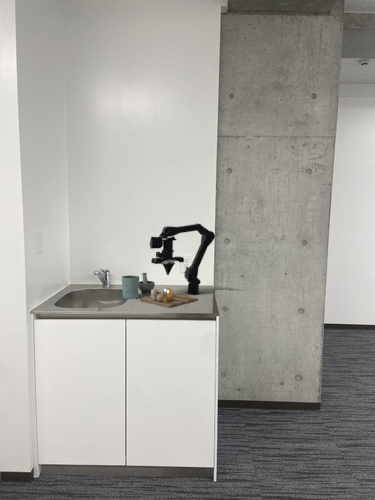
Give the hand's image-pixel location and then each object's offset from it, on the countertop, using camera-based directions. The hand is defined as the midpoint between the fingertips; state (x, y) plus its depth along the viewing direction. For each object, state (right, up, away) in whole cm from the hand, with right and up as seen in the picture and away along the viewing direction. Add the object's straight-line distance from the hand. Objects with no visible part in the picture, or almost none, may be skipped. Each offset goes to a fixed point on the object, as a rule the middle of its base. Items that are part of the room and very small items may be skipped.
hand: (167, 274), depth 243 cm
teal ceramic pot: (-21, -13, -6) cm, 25 cm away
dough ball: (-3, -11, -19) cm, 23 cm away
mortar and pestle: (-13, -12, +5) cm, 18 cm away
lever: (0, -12, -11) cm, 16 cm away
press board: (+1, -14, -12) cm, 18 cm away
